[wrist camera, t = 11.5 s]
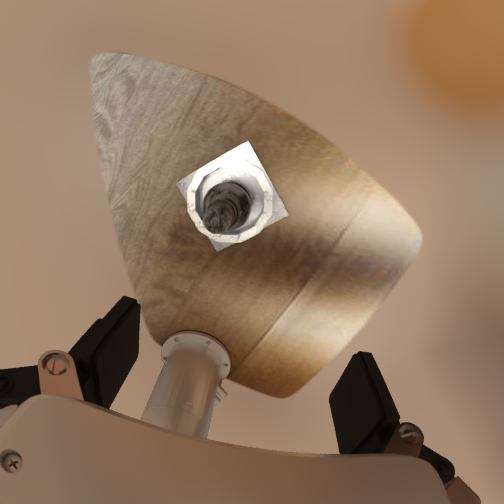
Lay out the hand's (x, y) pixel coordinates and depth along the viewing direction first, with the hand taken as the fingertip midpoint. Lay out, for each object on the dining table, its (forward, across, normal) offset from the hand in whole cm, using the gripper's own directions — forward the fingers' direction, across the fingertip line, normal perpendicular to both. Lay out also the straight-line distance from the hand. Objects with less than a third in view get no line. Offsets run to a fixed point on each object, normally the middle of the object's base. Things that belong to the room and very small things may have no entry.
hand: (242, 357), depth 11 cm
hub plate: (+29, +4, -2) cm, 29 cm away
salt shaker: (+28, +4, -1) cm, 28 cm away
